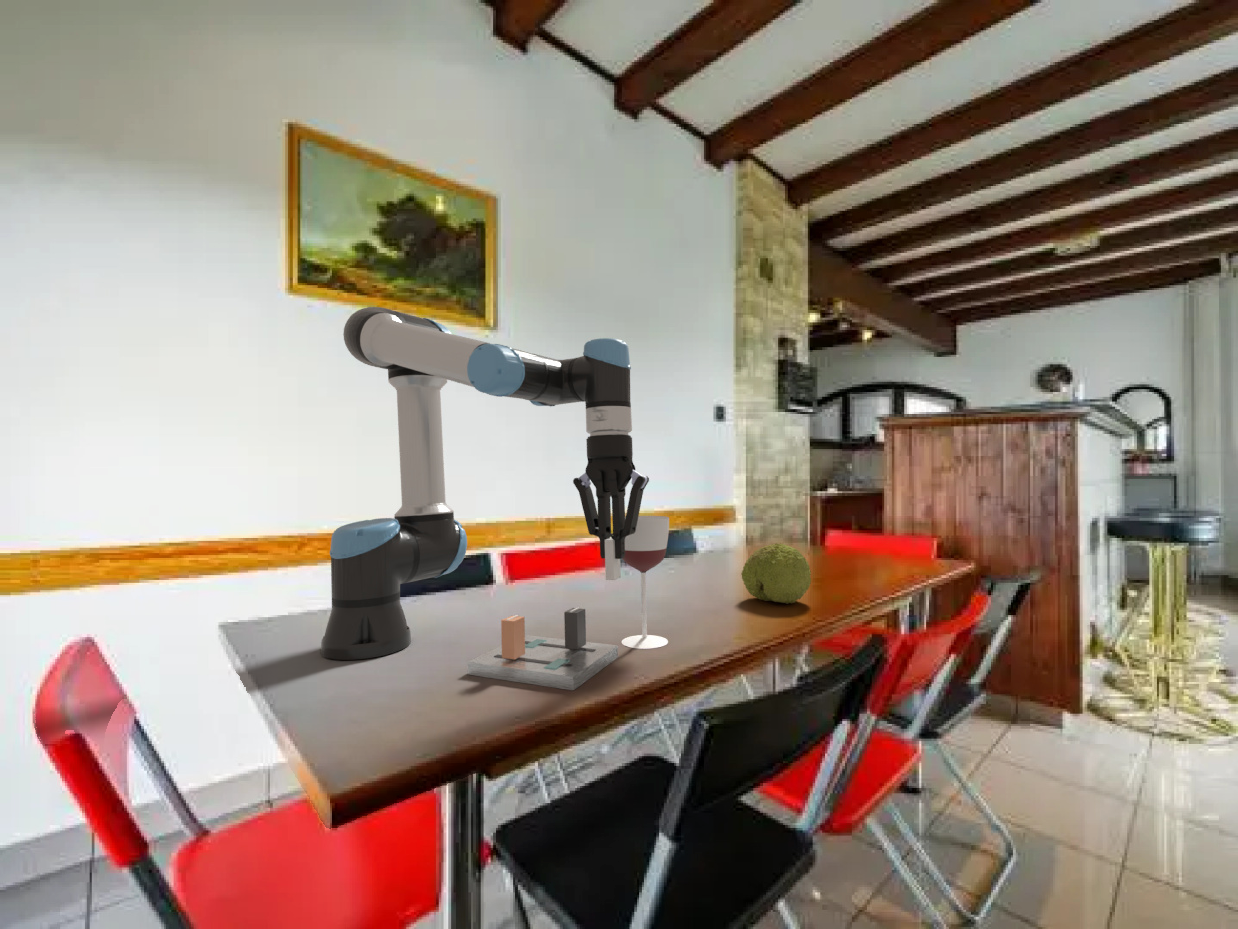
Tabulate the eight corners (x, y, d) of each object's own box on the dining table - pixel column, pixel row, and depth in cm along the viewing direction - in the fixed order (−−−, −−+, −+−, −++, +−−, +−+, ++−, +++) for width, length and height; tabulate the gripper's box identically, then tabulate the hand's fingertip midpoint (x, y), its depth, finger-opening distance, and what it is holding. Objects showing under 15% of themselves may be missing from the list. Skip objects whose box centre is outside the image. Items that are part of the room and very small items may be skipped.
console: (467, 674, 91) (467, 661, 91) (523, 645, 106) (523, 634, 106) (573, 690, 83) (573, 676, 83) (618, 657, 98) (617, 644, 98)
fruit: (733, 605, 134) (727, 544, 141) (765, 617, 143) (758, 559, 150) (796, 591, 124) (786, 526, 131) (827, 604, 133) (816, 543, 140)
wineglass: (668, 650, 101) (665, 519, 102) (613, 647, 103) (610, 519, 104) (674, 635, 110) (671, 515, 111) (623, 633, 112) (620, 515, 113)
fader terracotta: (501, 657, 91) (501, 618, 92) (512, 652, 94) (512, 614, 94) (514, 659, 91) (513, 620, 91) (525, 653, 93) (524, 615, 93)
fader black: (565, 648, 96) (564, 610, 96) (573, 643, 99) (572, 606, 99) (577, 649, 95) (577, 611, 95) (586, 644, 98) (585, 607, 98)
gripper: (563, 435, 94) (567, 580, 93) (637, 431, 88) (642, 584, 88) (584, 437, 101) (588, 573, 100) (654, 433, 95) (658, 576, 95)
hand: (613, 578), depth 94 cm, fingers closed
